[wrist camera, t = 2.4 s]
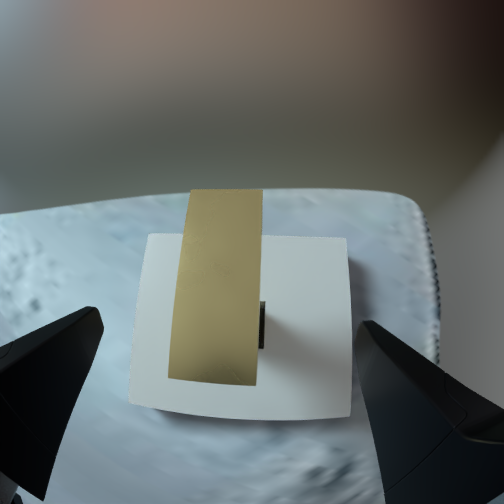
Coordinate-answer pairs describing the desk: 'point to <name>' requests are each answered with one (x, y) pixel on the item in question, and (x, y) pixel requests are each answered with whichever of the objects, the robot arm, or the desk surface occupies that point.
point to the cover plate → (275, 335)
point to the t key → (218, 289)
